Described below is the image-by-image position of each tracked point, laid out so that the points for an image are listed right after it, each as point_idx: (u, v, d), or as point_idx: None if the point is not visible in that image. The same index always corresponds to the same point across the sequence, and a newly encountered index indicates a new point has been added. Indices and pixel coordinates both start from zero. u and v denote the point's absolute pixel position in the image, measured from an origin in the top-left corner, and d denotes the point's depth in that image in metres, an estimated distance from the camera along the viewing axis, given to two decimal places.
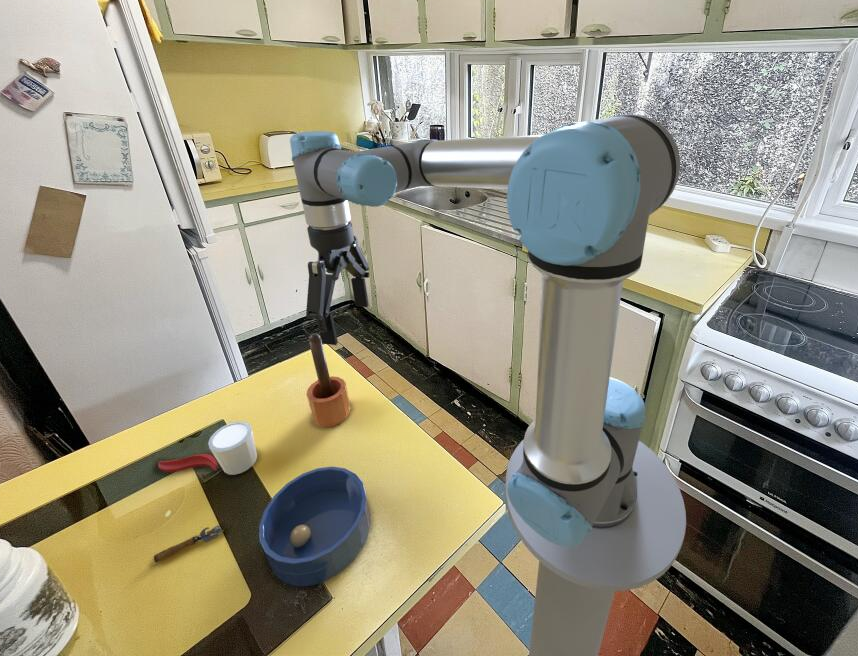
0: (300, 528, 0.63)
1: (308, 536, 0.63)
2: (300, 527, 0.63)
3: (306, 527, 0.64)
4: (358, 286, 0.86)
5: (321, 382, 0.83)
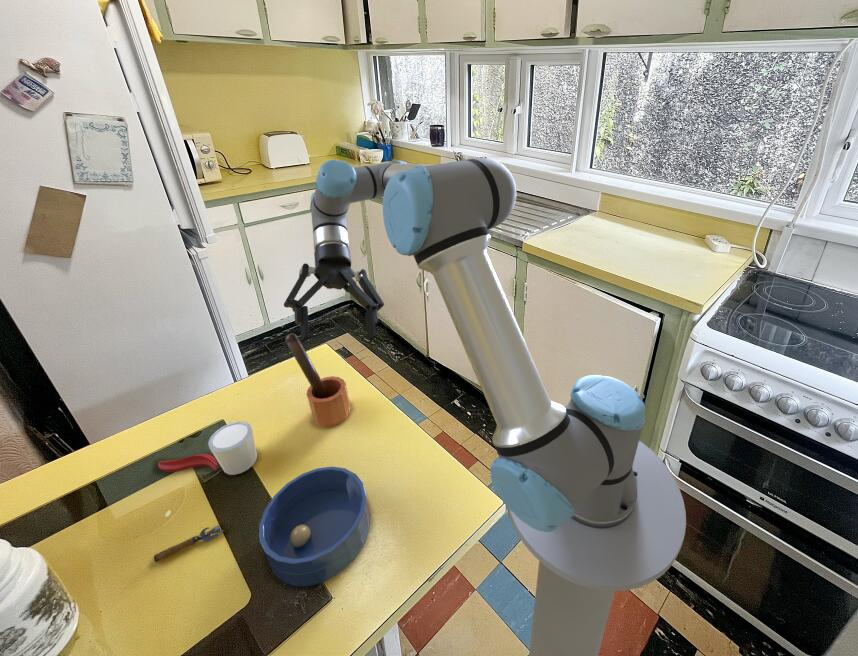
0: (300, 528, 0.63)
1: (308, 536, 0.63)
2: (300, 527, 0.63)
3: (306, 527, 0.64)
4: (368, 317, 0.90)
5: (311, 382, 0.84)
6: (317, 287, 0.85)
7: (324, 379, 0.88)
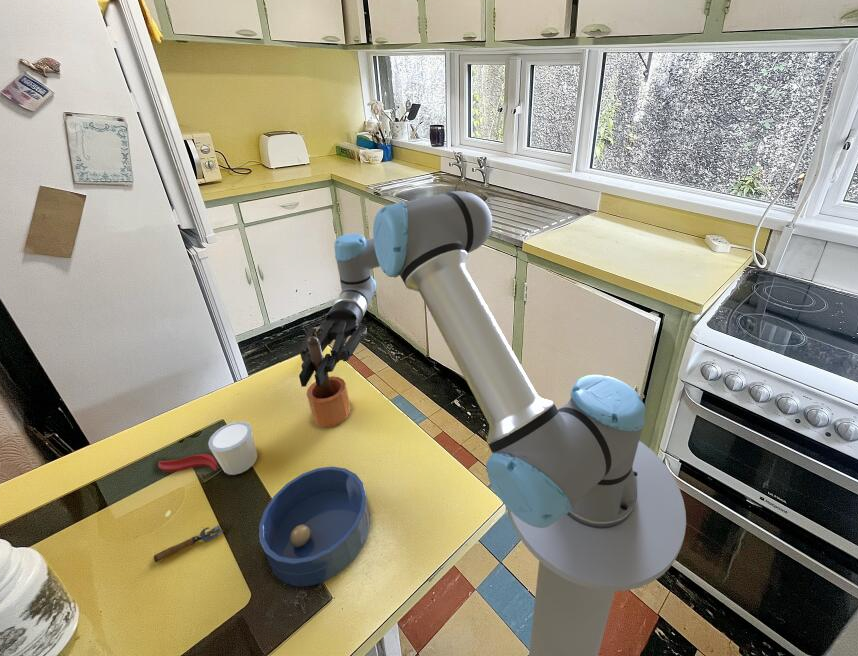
0: (300, 528, 0.63)
1: (308, 536, 0.63)
2: (300, 527, 0.63)
3: (306, 527, 0.64)
4: None
5: None
6: (323, 337, 0.88)
7: None
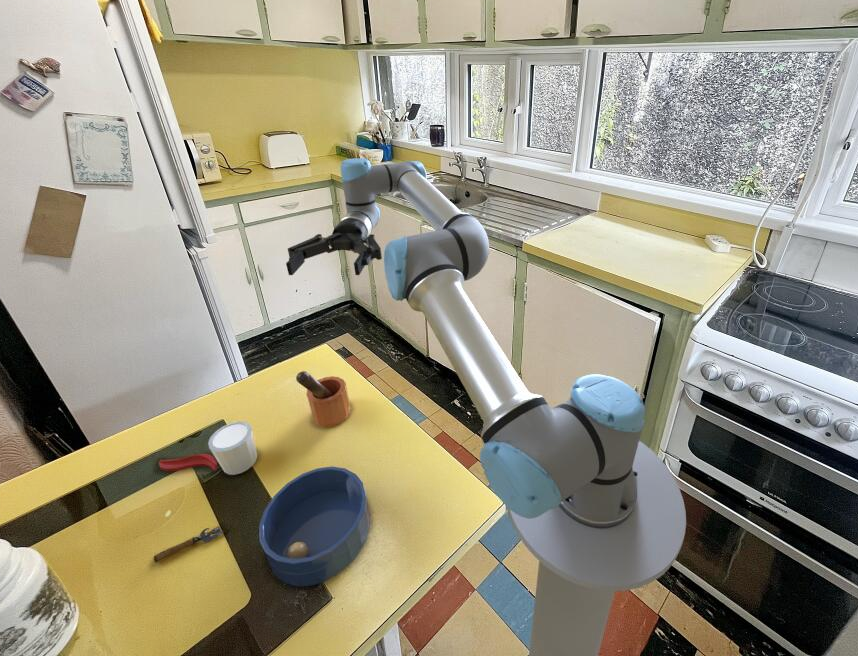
0: None
1: None
2: None
3: None
4: None
5: (319, 396, 0.82)
6: (320, 243, 0.93)
7: (324, 379, 0.88)
